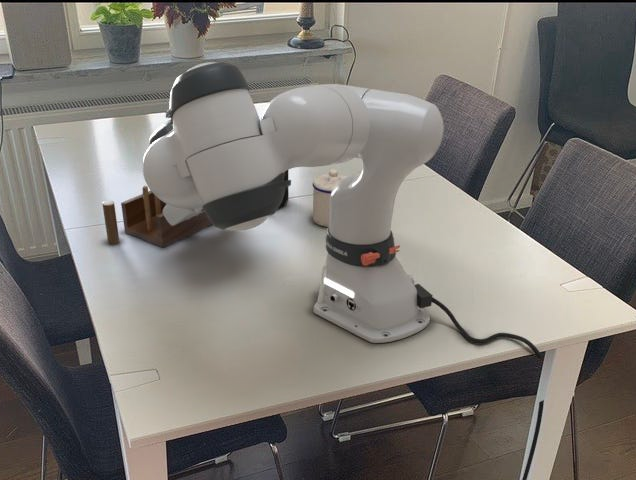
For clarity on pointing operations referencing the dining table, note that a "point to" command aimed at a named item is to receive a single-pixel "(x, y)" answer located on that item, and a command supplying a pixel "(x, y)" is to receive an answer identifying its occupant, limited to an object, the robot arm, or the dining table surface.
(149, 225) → the plate rack
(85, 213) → the dining table surface
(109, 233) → the marker posts
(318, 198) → the teacup with lid
